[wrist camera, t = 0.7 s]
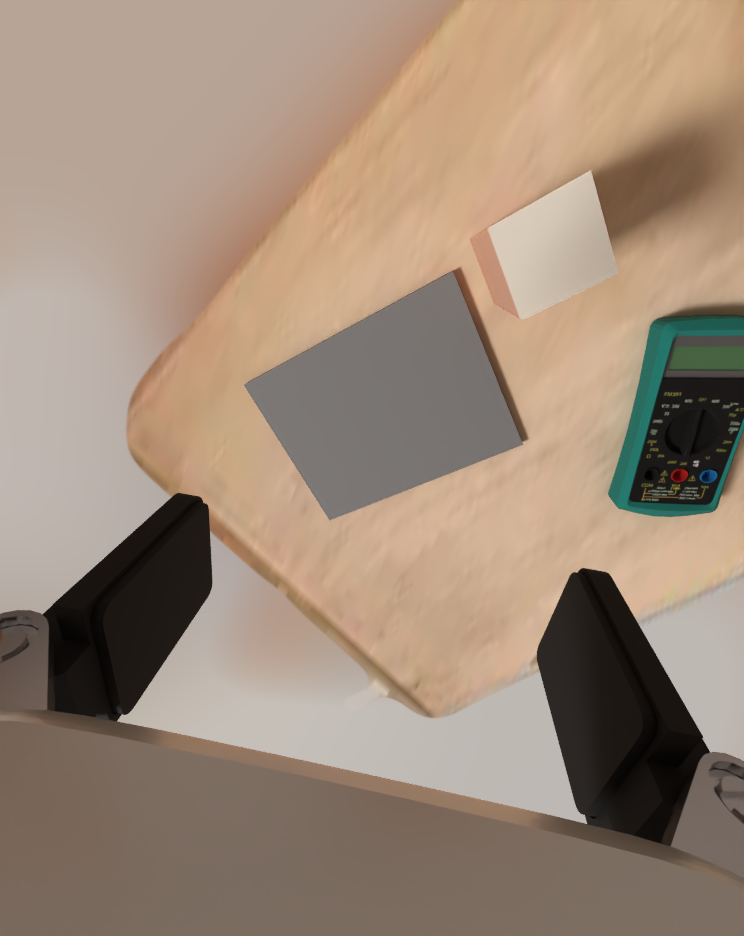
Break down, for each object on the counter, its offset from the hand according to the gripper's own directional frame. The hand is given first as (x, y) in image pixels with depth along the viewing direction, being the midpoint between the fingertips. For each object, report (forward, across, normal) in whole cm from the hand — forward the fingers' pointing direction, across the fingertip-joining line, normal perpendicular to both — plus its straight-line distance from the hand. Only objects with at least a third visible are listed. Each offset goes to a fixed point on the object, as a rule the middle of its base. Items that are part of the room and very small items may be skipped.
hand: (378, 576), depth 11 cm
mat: (+24, +2, +4) cm, 24 cm away
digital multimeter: (+25, -20, 0) cm, 32 cm away
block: (+24, -5, -8) cm, 26 cm away
